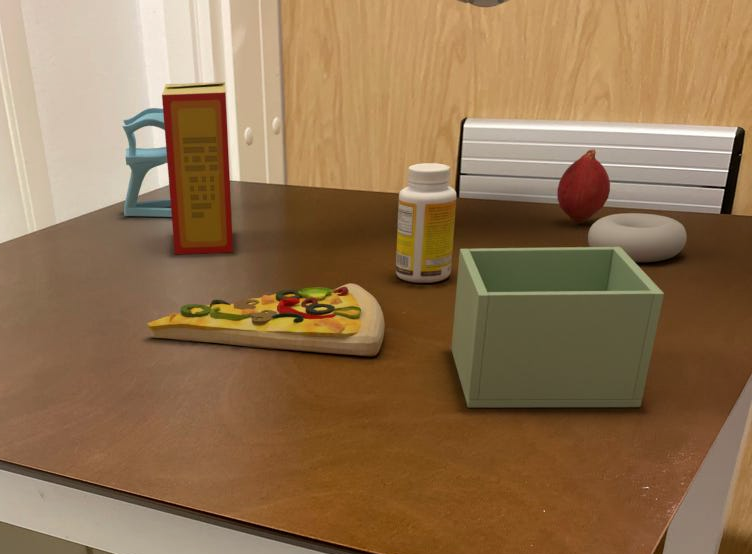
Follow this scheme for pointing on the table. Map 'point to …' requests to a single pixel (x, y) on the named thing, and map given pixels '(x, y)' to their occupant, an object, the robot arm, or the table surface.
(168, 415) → the table surface
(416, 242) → the supplement bottle
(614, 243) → the donut
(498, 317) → the trash bin
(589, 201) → the onion
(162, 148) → the chair
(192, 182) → the baking soda box
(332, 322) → the pizza slice
